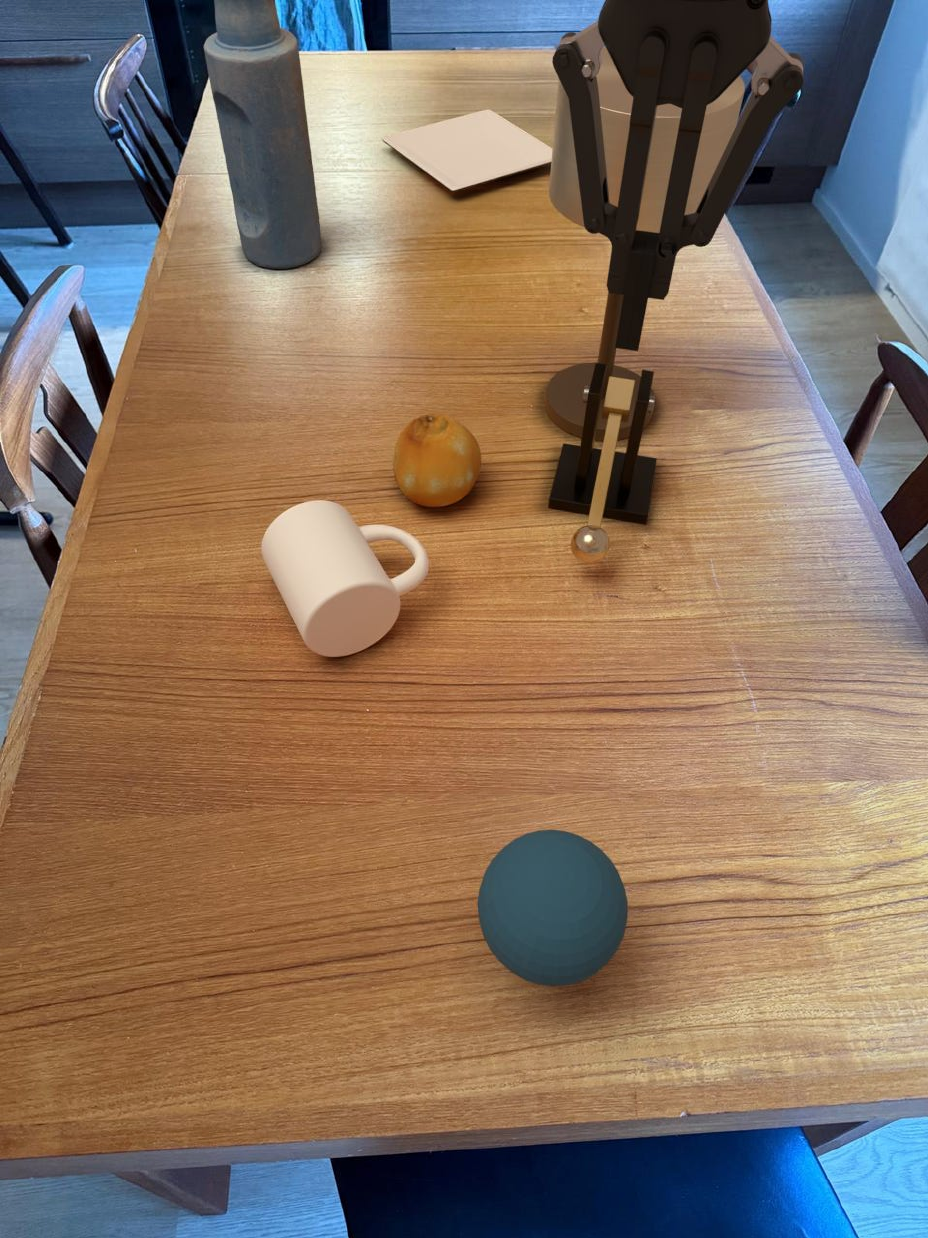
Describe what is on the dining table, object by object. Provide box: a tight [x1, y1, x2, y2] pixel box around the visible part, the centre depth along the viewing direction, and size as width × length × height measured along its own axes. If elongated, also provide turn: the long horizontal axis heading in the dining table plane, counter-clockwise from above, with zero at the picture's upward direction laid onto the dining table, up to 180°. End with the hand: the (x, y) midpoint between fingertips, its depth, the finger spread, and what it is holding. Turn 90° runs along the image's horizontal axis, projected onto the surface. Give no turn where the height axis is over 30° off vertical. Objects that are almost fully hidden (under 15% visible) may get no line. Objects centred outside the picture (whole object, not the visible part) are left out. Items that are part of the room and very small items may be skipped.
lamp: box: [544, 46, 746, 442], centre depth 80 cm, size 14×14×30 cm
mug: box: [260, 499, 430, 658], centre depth 71 cm, size 12×10×8 cm
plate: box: [381, 108, 553, 193], centre depth 126 cm, size 19×19×2 cm
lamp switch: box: [570, 377, 635, 565], centre depth 75 cm, size 16×3×3 cm, turn 167°
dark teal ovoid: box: [477, 829, 629, 987], centre depth 52 cm, size 8×8×12 cm
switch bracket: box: [547, 362, 658, 526], centre depth 79 cm, size 8×9×12 cm
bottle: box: [203, 0, 323, 270], centre depth 98 cm, size 10×10×30 cm
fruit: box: [392, 413, 482, 508], centre depth 81 cm, size 8×8×8 cm
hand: (628, 337), depth 58 cm, fingers closed
